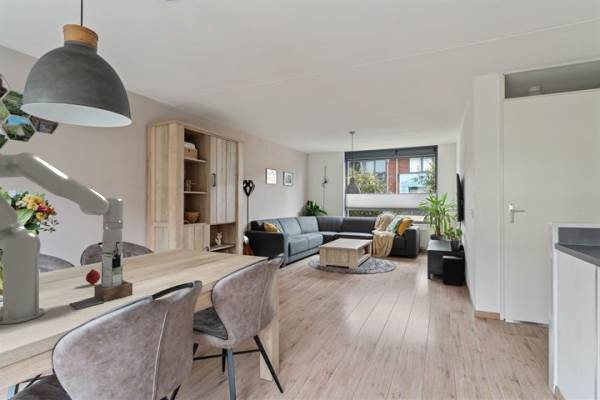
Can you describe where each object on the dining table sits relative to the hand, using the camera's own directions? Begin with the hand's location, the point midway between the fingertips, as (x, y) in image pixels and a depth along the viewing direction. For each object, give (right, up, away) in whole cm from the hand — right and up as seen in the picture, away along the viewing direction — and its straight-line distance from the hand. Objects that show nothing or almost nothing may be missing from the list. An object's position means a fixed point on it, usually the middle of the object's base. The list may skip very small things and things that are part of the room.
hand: (112, 266), depth 130 cm
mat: (-4, -13, -10) cm, 17 cm away
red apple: (-21, -13, +17) cm, 30 cm away
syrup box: (0, -9, 0) cm, 9 cm away
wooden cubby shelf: (0, -13, 0) cm, 13 cm away
